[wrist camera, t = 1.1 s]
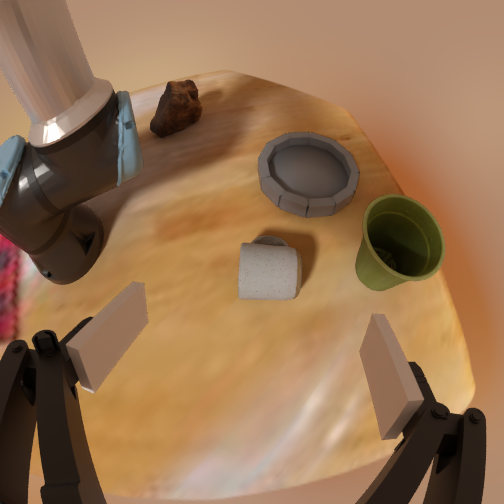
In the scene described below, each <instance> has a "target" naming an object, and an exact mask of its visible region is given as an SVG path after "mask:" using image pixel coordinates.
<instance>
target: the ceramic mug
mask: <svg viewBox="0 0 504 504" xmlns="http://www.w3.org/2000/svg"><path fill="white" fill-rule="evenodd" d="M263 244H269V245H263ZM273 245H275V246H273ZM301 281H302V259H301V254H300V252H299V251H298V250H297V249H295V248H291V247H289V246H288V244H287V243H286V241H284V240H283V239H281V238H278V237H275V236H260V237H257V238H256V239H254V240H253V241H252V242H251V243H242V244H241V250H240V263H239V278H238V283H239V285H238V295H239V299H254V300H290V299H294V298H296V297H297V296H298V294H299V292H300V288H301Z"/></svg>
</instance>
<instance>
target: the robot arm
mask: <svg viewBox="0 0 504 504" xmlns="http://www.w3.org/2000/svg"><path fill="white" fill-rule="evenodd" d="M0 68H1V70H2V72H3V74H4V76H5V78H6V79H7V81H8V83H9V85H10V86H11V88H12V90H13V92H14V94H15V95H16V97H17V99H18V100H19V102H20V104H21V105H22V107H23V108H24V110H25V112H26V113H27V115H28V116H29V118H30V120H31V121H32V123H31V127H30V131H29V142H27V143H26V142H25V139H24V138H23V137H21V136H19V135H16V136H12V137H10V138H9V139H8V140H6V141H5V142H4V143H3V144H2V145H1V146H0V234H2V235H3V236H4V237H6V238H7V239H8V240H10V241H11V242H12V243H14V244H15V245H16V246H18V247H19V248H21V249H22V250H23V251H25V252H26V253H28V255H29V256H30V258H31V259H32V261H33V262H34V264H35V266H36V267H37V269H38V270H39V272H40V273H41V274H42V275H43V276H44V277H45V278H47V279H48V280H50V281H51V282H53V283H55V284H59V285H65V284H70V283H72V282H74V281H76V280H78V279H79V278H81V277H82V276H83V275H84V274H85V273H86V272H87V271H88V270H89V269H90V268H91V267H92V265H93V264H94V262H95V260H96V259H97V257H98V254H99V252H100V249H101V246H102V241H103V227H102V223H101V221H100V219H99V217H98V216H97V215H96V214H95V213H94V211H93V210H92V209H90V208H89V207H88V206H86V205H84V204H82V203H83V202H85V201H87V200H89V199H91V198H93V197H95V196H98V195H100V194H102V193H104V192H106V191H109V190H111V189H113V188H115V187H119V186H121V184H122V183H124V182H126V181H128V180H130V179H132V178H134V177H136V176H137V175H139V174H140V172H141V171H142V169H143V165H144V161H143V156H142V151H141V146H140V142H139V137H138V133H137V128H136V123H135V118H134V114H133V109H132V104H131V100H130V96H129V92H127V91H120V92H117V93H116V94H115V92H114V89H113V87H112V85H111V83H110V82H109V81H107V80H104V79H99V78H95V77H94V76H93V74H92V71H91V69H90V66H89V64H88V61H87V59H86V56H85V54H84V51H83V48H82V46H81V43H80V41H79V38H78V35H77V32H76V30H75V27H74V24H73V21H72V18H71V16H70V13H69V10H68V7H67V3H66V0H0ZM147 323H148V315H147V306H146V297H145V286H144V283H140V282H134V281H133V282H132V283H131V284H130V285H129V286H127V287H126V288H125V289H124V290H123V291H122V292H121V293H120V294H119V295H117V296H116V297H115V298H114V299H113V300H112V301H111V302H110V303H109V304H108V305H107V306H105V307H104V308H103V309H102V310H101V311H100V312H99V313H98V314H97V315H96V316H95V317H88V318H86V319H84V320H82V321H81V322H80V323H79V324H78V325H77V327H75V328H74V329H73V330H72V331H71V332H69V333H68V334H67V335H66V336H65V337H64V338H63V339H62V340H61V341H60V342H58V339H57V337H56V333H55V332H53V331H51V330H42V331H39V332H37V333H36V334H35V335H34V336H33V338H32V342H33V344H34V347H35V349H36V350H33V349H29V348H28V345H27V343H26V342H25V341H24V340H15V341H13V342H11V343H10V344H9V345H8V346H7V348H6V350H5V352H4V354H3V356H2V359H1V361H0V504H28V482H29V470H30V460H31V452H32V445H33V438H34V432H35V427H36V421H37V428H38V439H39V448H40V456H41V463H42V469H43V474H44V480H45V485H44V486H42V487H41V490H40V492H41V498H42V502H43V504H107V503H106V500H105V498H104V495H103V492H102V489H101V487H100V484H99V481H98V478H97V475H96V472H95V468H94V465H93V462H92V458H91V454H90V451H89V447H88V443H87V439H86V435H85V430H84V426H83V421H82V416H81V411H80V405H79V399H78V393H77V388H76V386H75V384H76V383H77V381H78V380H79V382H80V384H81V386H82V388H83V389H85V390H88V391H90V392H92V393H95V392H96V391H97V389H98V388H99V386H100V385H101V384H102V382H103V381H104V380H105V378H106V377H107V376H108V374H109V373H110V372H111V370H112V369H113V368H114V366H115V365H116V364H117V362H118V361H119V360H120V358H121V357H122V356H123V354H124V353H125V352H126V350H127V349H128V348H129V346H130V345H131V344H132V343H133V341H134V340H135V339H136V337H137V336H138V335H139V334H140V332H141V331H142V330H143V328H144V327H145V326H146V325H147ZM359 352H360V356H361V359H362V363H363V366H364V370H365V374H366V377H367V381H368V385H369V389H370V393H371V397H372V401H373V405H374V409H375V413H376V417H377V421H378V426H379V430H380V435H381V440H387V439H396V438H397V437H398V436H399V434H400V433H401V432H403V436H404V438H403V439H402V441H401V442H400V443H399V444H398V445H397V447H396V448H395V449H394V450H395V451H394V453H393V454H392V456H391V457H390V459H389V460H388V462H387V463H386V465H385V466H384V468H383V469H382V470H381V472H380V473H379V475H378V476H377V477H376V478H375V480H374V481H373V482H372V484H371V485H370V486H369V488H368V489H367V490H366V491H365V493H364V494H363V495H362V496H361V497H360V499H359V500H358V501H357V502H356V503H355V504H408V503H409V502H410V500H411V498H412V497H413V495H414V493H415V492H416V490H417V488H418V486H419V485H420V483H421V481H422V479H423V478H424V475H425V474H426V472H427V470H428V468H429V466H430V464H431V462H432V460H433V458H434V460H433V465H432V471H431V475H430V479H429V483H428V487H427V491H426V494H425V498H424V501H423V504H481V502H482V496H483V488H484V478H485V464H486V419H485V416H484V414H483V413H482V412H481V411H480V410H479V409H476V408H469V409H467V410H466V412H465V413H464V414H463V415H460V414H453V413H450V411H449V409H448V408H447V407H446V406H445V405H443V404H441V403H438V402H436V399H435V397H434V395H433V393H432V390H431V388H430V386H429V384H428V383H427V380H426V377H424V376H425V375H424V373H423V371H422V369H421V368H420V367H419V366H418V365H417V364H416V363H415V362H408V361H407V359H406V357H405V355H404V353H403V351H402V349H401V347H400V344H399V342H398V340H397V338H396V336H395V334H394V332H393V330H392V328H391V326H390V324H389V322H388V320H387V318H386V316H385V315H384V314H374V313H372V316H371V319H370V322H369V325H368V328H367V331H366V334H365V337H364V340H363V343H362V345H361V348H360V351H359Z"/></svg>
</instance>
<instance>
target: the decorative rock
mask: <svg viewBox="0 0 504 504" xmlns="http://www.w3.org/2000/svg"><path fill="white" fill-rule="evenodd" d="M201 112H202V107H201V105H200V102H199V100H198V89H197V87H196V85H195V83H194V82H193V81H191V80H185V81H178V82H173V81H170V82H168V83H167V86H166V90H165V92H164V94H163V95H162V96H161V98H160V101H159V104H158V108H157V111H156V114H155V116H154V117H153V119H152V121H151V123H150V130H151V131H152V132H153V133H155V134H156V135H158V136H159V137H163V136H165V135H167V134H171V133H173V132H176V131H179V130H182V129H184V128H185V127H186V126H187V125H189V124H190V123H194V122H196V121H198V120H199V118H200V116H201Z"/></svg>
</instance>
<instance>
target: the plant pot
mask: <svg viewBox="0 0 504 504" xmlns="http://www.w3.org/2000/svg"><path fill="white" fill-rule="evenodd" d="M362 226H363V239H362V243H361V246H360V249H359V252H358V256H357V259H356V264H355V268H356V273H357V276H358V278H359V279H360V281H361V282H362V283H364V284H365V285H366V286H367V287H368V288H370V289H372V290H375V291H383V290H386V289H389V288H392V287H394V286H396V285H399V284H401V283H404V282H406V281H421V280H425V279H428V278H430V277H431V276H433V275H434V274H435V273H436V272H437V271H438V270H439V268H440V267H441V265H442V263H443V260H444V256H445V241H444V236H443V233H442V230H441V228H440V226H439V224H438V222H437V220H436V219H435V217H434V216H433V215H432V214H431V212H429V210H427V208H426V207H424V206H423V205H422V204H421V203H419V202H418V201H416V200H414V199H412V198H410V197H407V196H404V195H399V194H388V195H383V196H380V197H378V198H376V199H375V200H373V201H372V202H371V203H370V204H369V206H368V207H367V209H366V211H365V213H364V217H363V224H362ZM376 252H379V254H376ZM390 264H392V265H393V270H392V269H391V265H390Z"/></svg>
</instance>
